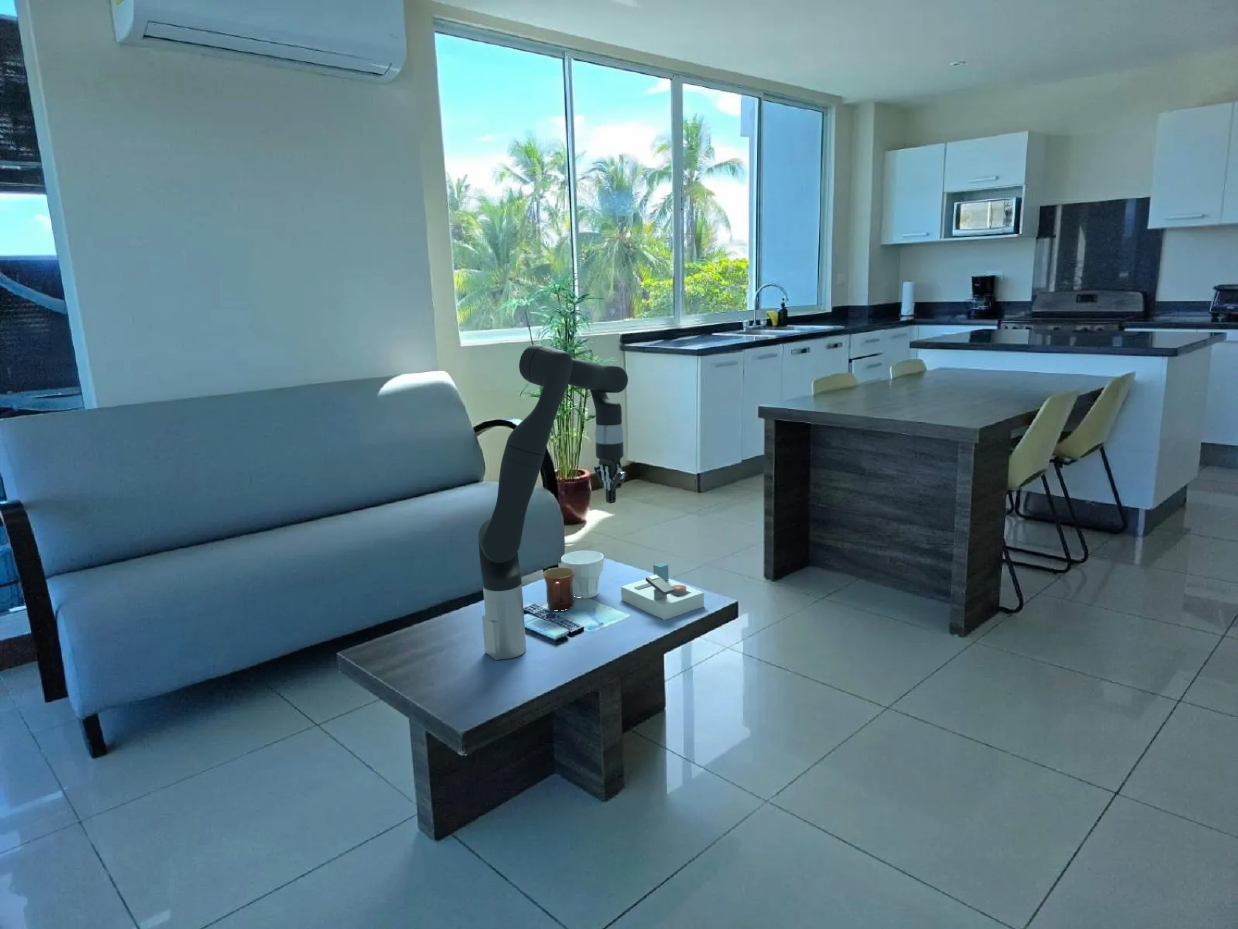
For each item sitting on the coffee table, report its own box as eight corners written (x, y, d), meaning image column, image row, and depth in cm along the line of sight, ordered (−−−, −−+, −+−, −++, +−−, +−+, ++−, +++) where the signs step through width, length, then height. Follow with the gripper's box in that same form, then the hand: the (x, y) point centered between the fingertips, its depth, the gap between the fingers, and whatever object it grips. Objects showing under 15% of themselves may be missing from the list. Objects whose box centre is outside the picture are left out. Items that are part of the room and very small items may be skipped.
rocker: (663, 595, 208) (664, 591, 207) (645, 580, 213) (646, 576, 213) (674, 592, 210) (675, 588, 209) (655, 577, 215) (656, 573, 215)
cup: (581, 604, 221) (579, 567, 219) (554, 594, 230) (551, 557, 228) (614, 592, 229) (612, 556, 227) (586, 582, 238) (585, 547, 236)
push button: (678, 609, 214) (678, 591, 213) (668, 605, 217) (668, 587, 216) (689, 605, 216) (689, 587, 215) (680, 601, 219) (679, 583, 218)
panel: (664, 619, 208) (663, 594, 207) (621, 599, 223) (620, 576, 222) (703, 606, 216) (703, 582, 215) (660, 588, 231) (659, 565, 230)
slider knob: (660, 582, 223) (659, 567, 222) (653, 579, 225) (653, 564, 224) (668, 579, 225) (668, 564, 224) (661, 577, 227) (661, 562, 226)
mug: (546, 602, 224) (544, 567, 222) (577, 601, 223) (575, 566, 221) (541, 619, 212) (539, 582, 210) (574, 618, 212) (572, 581, 210)
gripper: (635, 441, 210) (636, 505, 214) (606, 435, 221) (608, 496, 224) (611, 445, 206) (613, 509, 209) (584, 438, 217) (586, 500, 220)
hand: (610, 502), depth 217 cm, fingers closed
